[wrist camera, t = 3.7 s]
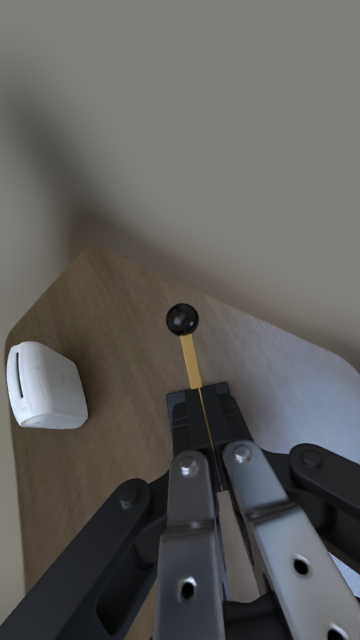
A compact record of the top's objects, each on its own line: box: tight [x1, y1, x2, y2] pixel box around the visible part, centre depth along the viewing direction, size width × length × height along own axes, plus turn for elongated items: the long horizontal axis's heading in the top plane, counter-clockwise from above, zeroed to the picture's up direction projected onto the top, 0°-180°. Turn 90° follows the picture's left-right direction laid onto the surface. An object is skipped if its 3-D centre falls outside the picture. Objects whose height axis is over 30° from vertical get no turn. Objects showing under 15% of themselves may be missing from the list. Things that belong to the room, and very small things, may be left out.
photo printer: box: [7, 342, 88, 429], centre depth 32 cm, size 10×4×12 cm, turn 23°
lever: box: [166, 303, 213, 448], centre depth 24 cm, size 14×3×3 cm, turn 11°
